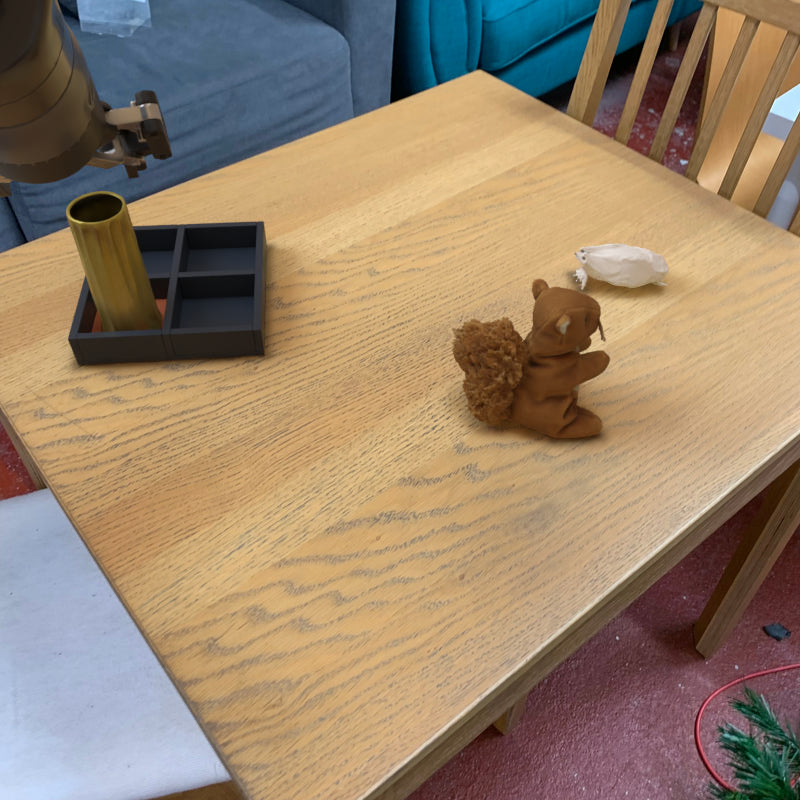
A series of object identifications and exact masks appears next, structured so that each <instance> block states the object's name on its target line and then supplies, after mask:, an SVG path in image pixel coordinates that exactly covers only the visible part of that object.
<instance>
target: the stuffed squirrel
mask: <svg viewBox="0 0 800 800" xmlns="http://www.w3.org/2000/svg"><path fill="white" fill-rule="evenodd" d="M531 284H532V287H531V292H532V293H531V294H532V296H533V299H534V305H533V309H532V326H531V330H530V331H529V332H528V333H527V335H526V336H525V338H524V339H523V337H522V336H521V334H520V333H519V331H517V330H515V325H514V323H513V321H512V320H510V319H509V317H508V316H507V317H505V316H502V317H501V320H500V319H499V318H497V319H496V320H493V321H485V322H481V321H480V320H478V319H477V318H471V319H470V320H469V321H467V322H466V321H464V322H462V324H463V325H461V327H457V328H455V327H453V328H451V331H452V333H453V335H454V338H455V339H453V341H454V342H451V344H452V345H453V347H452V349H451V351H452V355H453V358H454V361H455V362H456V363H457V365H458V367H459V368H460V369H461V371H462V372H464V379H463V380H462V382H463V385H461V387H462V392H464V394H465V397H466V399H467V404H466V407H467V409H468V410H469V412H470V414H471V416H472V417H474V418H475V419H476V420H478V422H480V423H484V424H486V426H489V427H494V426H497V425H499V424H501V423H503V422H504V420H509V421H510V422H513V423H515V424H516V423H517V424H519V425H521V426H524V427H527V428H529V429H531V430H534V431H536V432H538V433H541V434H544V435H546V436H549V437H551V438H553V439H554V438H555V439H572V438H573V439H576V438H586V437H590V436H596V435H599V434H600V433H601V432H602V430H603V427H604V425H603V421H602V419H601V418H600V416H598V415H597V414H595V413H594V412H593V411H591V410H588V409H586V408H585V407H582V406H579V405H578V400H579V399H578V398H579V388H580V387H579V386H580V385H582V384H584V383H586V382H588V381H591V380H593V379H595V378H597V377H598V376H600V375H602V374H603V373H604V372H605V371H606V370H607V368H608V367H609V366H610V365H609V364H610V362H611V357H610V355H609V354H607V352H606V351H605V350H602V349H601V350H598V349H597V350H594V351H593V350H592V351H589V352H585V353H583V352H584V351H586V350H588V349H589V348H590V347H591V345H592V342H593V340H592V338H591V336H593V335H594V334H595V333H596V332H597V330H598V332H599V335H600V340H601V341H602V342H603V343H605V342H606V341H607V338H606V337H605V332H604V327H603V324H602V322H601V315H602V311H601V308H602V307H601V305H600V304H599V301H598V300H596V299H595V298H594V297H592V296H590V295H588V294H586V293H583V292H581V291H578V290H575V289H571V288H566V287H562V286H552V287H549V284H548V283H547V281H546V280H544V279H543V278H536V279H534V280H533V281H532V282H531Z"/></svg>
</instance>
